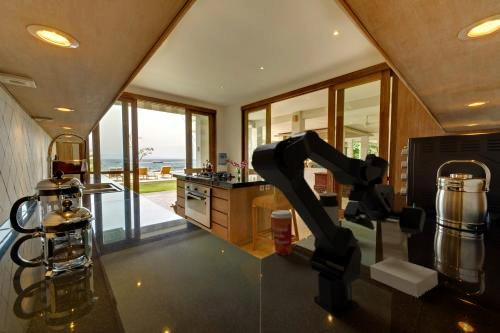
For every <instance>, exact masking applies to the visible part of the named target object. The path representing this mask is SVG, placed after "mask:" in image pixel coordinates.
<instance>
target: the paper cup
mask: <svg viewBox="0 0 500 333" xmlns="http://www.w3.org/2000/svg"><path fill="white" fill-rule="evenodd" d="M270 217H271V223H272V232H273V233H272V234H273V241H274V242H273V244H274V250H275V254H277V251H278V254H277V255H279V254H288V253H291V254H292V245H293V243H292V241H293V232H292V231H293V217H294V215H293V213H292V211H291V210H284V209H281V210H279V209H278V210H275V211H274V210H273V211H272V212H271V215H270Z"/></svg>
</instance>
